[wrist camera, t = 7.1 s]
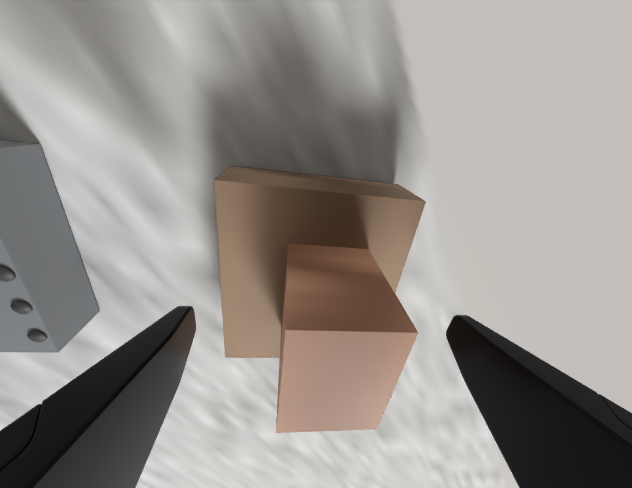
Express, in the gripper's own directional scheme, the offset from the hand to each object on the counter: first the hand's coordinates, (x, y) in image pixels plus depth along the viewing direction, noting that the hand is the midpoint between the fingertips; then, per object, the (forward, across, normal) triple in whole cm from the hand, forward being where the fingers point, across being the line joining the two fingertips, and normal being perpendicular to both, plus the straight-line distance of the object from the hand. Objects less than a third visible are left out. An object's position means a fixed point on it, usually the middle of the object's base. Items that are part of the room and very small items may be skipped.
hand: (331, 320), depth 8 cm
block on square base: (+4, +1, 0) cm, 4 cm away
